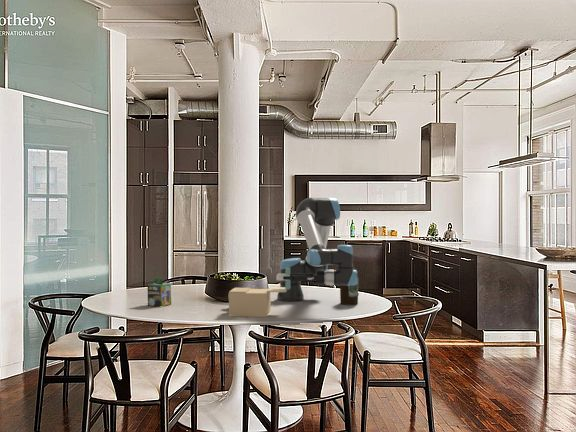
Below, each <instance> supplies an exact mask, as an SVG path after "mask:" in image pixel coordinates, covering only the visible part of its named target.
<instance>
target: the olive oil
mask: <svg viewBox="0 0 576 432" xmlns="http://www.w3.org/2000/svg"><path fill="white" fill-rule="evenodd" d="M353 270H357V268H356V267H355V266H354V265H353ZM359 278H360V274H359V271H358V270H357V284H356V285H348V286H344V285H339V293H340V295H339V298H340V302H339V303H340V304H341V305H347V306H348V305H349V306H351V305H354V306H355V305H358V303H359V294H360V293H359V282H360V281H359Z"/></svg>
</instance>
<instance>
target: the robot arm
mask: <svg viewBox="0 0 576 432" xmlns="http://www.w3.org/2000/svg"><path fill="white" fill-rule="evenodd" d="M295 218H296V221H297V223H299V225H300V227H301V229H302V233H303V235H304V238H305V240H306V241H305V242H306V244H307V245H306V246H307V247H308V251H307V254H306V256H305V259H304V260H303V259H301V258H300V257H292V258H285V259H283V260H281V261H280V267H279V269H280V271H279V273H277V274H276V275H275V276H276V278H275V279H276V281H280V287H285V281H290V289H287V291H286V292H277V295H276V299H277V301H281V302H282V301H283V302H300V301H304V300H305V296H304V292H303V289H302V285H301V284H302V283H301V282H310V283H311V282H313V283H314V281H316V285H317V286H324V285H325V286H329V287H332V286H340V285H344V286H348V285H356V284H357V271H358V270H353V266H354V250H353V246H352V245H351V244H350V245H349V244H339V245H337V248H331V249H327V246H328V240H329V238H330V237H329V236H330V231H331V226H333V225H334V224H335V221H338V220H339V219H340V218H341V207H340V203H339V201H338V199H337V198H334V197H307V198H305V199H303V200H302V201H300V203H299V204H298V205H297V207H296V211H295ZM329 266H337V267H336V268H337V269H328V268H329ZM286 268H290V275H285V269H286Z"/></svg>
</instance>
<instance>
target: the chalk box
mask: <svg viewBox="0 0 576 432" xmlns="http://www.w3.org/2000/svg"><path fill="white" fill-rule="evenodd" d="M158 280H159V281H158ZM146 286H147V307H157V306H163V307H166V306H169V305H172V283H171V282H163V278H162V277H154V283H149V284H147V285H146Z"/></svg>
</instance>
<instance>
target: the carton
mask: <svg viewBox="0 0 576 432" xmlns="http://www.w3.org/2000/svg"><path fill="white" fill-rule="evenodd" d="M268 289H269V288H251V287H233V288H232V289H231V290H229V292H228V294H227V295H228V296H227V299H228V317H254V318H255V317H261V318H262V317H263V318H264V317H265V318H266V317H267V316H268V315H270V312H271V292H267V290H268Z"/></svg>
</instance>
